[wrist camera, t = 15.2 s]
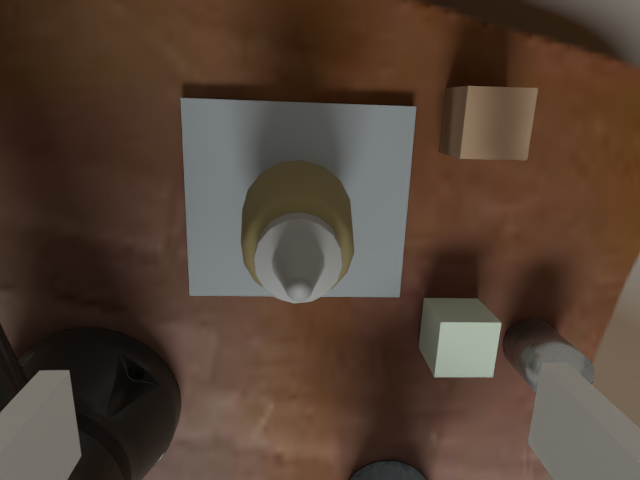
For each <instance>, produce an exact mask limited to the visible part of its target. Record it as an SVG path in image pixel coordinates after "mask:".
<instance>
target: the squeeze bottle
mask: <svg viewBox="0 0 640 480" xmlns="http://www.w3.org/2000/svg"><path fill="white" fill-rule="evenodd" d="M241 247H242V255H243V262H244V265H245V266H246V268H247V270H248V271H249V273H250V275H251V276H252V278H253V279H254V281H255V282H256V283H257V284H259V285H260V286H261V287H263V288H264V289H265V290H266V291H268V292H269V293H270V294H272V295H273V296H274V297H276V298H277V299H280V300H284V301H287V302H291V303H303V302H311V301H313V300H315V299H317V298H319V297H321V296H323V295H325V294H327V293H328V292H329V291H330V290H331V289H333V288H334V287H335V286H336V285H337V283H338V282H339V281H340V280H341V279H342V278H343V277H344V276H345V275H346V273H347V272H348V269H349V266H350V264H351V261H352V258H353V255H354V240H353V227H352V215H351V203H350V198H349V196H348V194H347V192H346V190H345V188H344V186H343V184H342V182H341V181H340V180H339V179H338V178H337V177H336V176H334V175H333V174H332V173H331V172H330V171H328V170H327V169H326V168H325V167H323V166H320V165H317V164H314V163H310V162H307V161H304V160H299V161H288V162H280V163H278V164H276V165H275V166H273V167H271V168H269V169H267V170H265V171H263V172H262V173H261V174H260V175H259V176H258V177H257V179H256V180H255V181H254V182H253V184H252V185H251V186H250V187H249V189H248V190H247V194H246V198H245V201H244V205H243V209H242V225H241Z"/></svg>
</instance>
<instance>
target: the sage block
mask: <svg viewBox="0 0 640 480" xmlns="http://www.w3.org/2000/svg"><path fill="white" fill-rule="evenodd" d="M500 329H501V322H500V321H499V320H498V319H497V318H496V317H495V315H494V314H493V313H492V312H491V311H490V310H489V309H488V308H487V307H486V306H485V305H484V304H483V303H482V302H481V301H480V300H479V299H478V298H424V301H423V310H422V320H421V329H420V339H419V350H420V351H421V353H422V355H423V357H424V359H425V361H426V363H427V365H428V366H429V368H430V370H431V372H432V374H433V376H434V377H493V373H494V367H495V361H496V354H497V348H498V341H499V335H500Z"/></svg>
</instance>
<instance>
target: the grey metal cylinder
mask: <svg viewBox="0 0 640 480" xmlns="http://www.w3.org/2000/svg"><path fill="white" fill-rule="evenodd" d="M502 347H503V353H504V355H505V357H506V358H507V360H508V361H509V362H510V363H511V364H512V365H513V367H514V368H515V369H516V370H517V371H518V373H519V374H520V375H521V376H522V377H523V378H524V380H525V381H526V382H527V383H528V384H529V385H530V387H531V388H532V389H533V390H534V391H535V393H537V387H538V381H539V376H540V370H541V364H542V363H559V362H567V363H569V364H570V365H571V366H572V367H573V368H574V369H575V370H576V371H577V372H578V373H579V374H581V375H582V376H583V377H584V378H585V379H586V380H587V381H588V382H589V383H590V384H591V385H592V382H593V379H594V368H593V365H592V363H591V361H590V360H589V359H588V358H587V357H586V356H585V355H583V354H582V353H581V352H580V351H579V350H578V349H576V348H575V347H574V346H573V345H572V344H571V343H569V342H568V341H567V340H566V339H565V338H564V337H562V336H561V335H560V334H559V333H558V332H556V331H555V330H554V329H553V328H552V327H551V326H549V325H548V324H547V323H546V322H544V321H542V320H539V319H526V320H523V321H520V322H518V323H517V324H515V325H514V326H512V327H511V328H510V329H509V331H508V332H507V333H506V335H505V337H504V340H503V346H502Z"/></svg>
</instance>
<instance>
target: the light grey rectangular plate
mask: <svg viewBox="0 0 640 480" xmlns="http://www.w3.org/2000/svg"><path fill="white" fill-rule="evenodd" d="M415 117H416V107H415V106H388V105H360V104H333V103H306V102H279V101H251V100H224V99H197V98H181V119H182V141H183V163H184V184H185V206H186V228H187V249H188V271H189V292H190V296H273V295H272V294H270V293H269V292H268V291H266V290H265V289H264V288H263V287H261V286H260V285H259V284H257V283H256V282H255V281H254V279H253V278H252V276H251V275H250V273H249V271H248V270H247V268H246V266H245V265H244V262H243V255H242V247H241V225H242V209H243V205H244V201H245V198H246V194H247V190H248V189H249V187H250V186H251V185H252V184H253V182H254V181H255V180H256V179H257V177H258V176H259V175H260V174H261V173H262V172H263V171H265V170H267V169H269V168H271V167H273V166H275V165H276V164H278V163H280V162H288V161H299V160H304V161H307V162H310V163H314V164H317V165H320V166H323V167H325V168H326V169H327V170H328V171H330V172H331V173H332V174H333V175H334V176H336V177H337V178H338V179H339V180H340V181H341V182H342V184H343V186H344V188H345V190H346V192H347V194H348V196H349V198H350V203H351V215H352V227H353V240H354V255H353V258H352V261H351V264H350V266H349V269H348V272H347V273H346V275H345V276H344V277H343V278H342V279H341V280H340V281H339V282H338V283H337V285H336V286H335V287H334V288H333V289H331V290H330V291H329V292H328V293H327V294H325V295H323V296H321V297H400V286H401V275H402V263H403V252H404V241H405V229H406V218H407V207H408V196H409V184H410V173H411V162H412V151H413V139H414V128H415Z"/></svg>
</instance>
